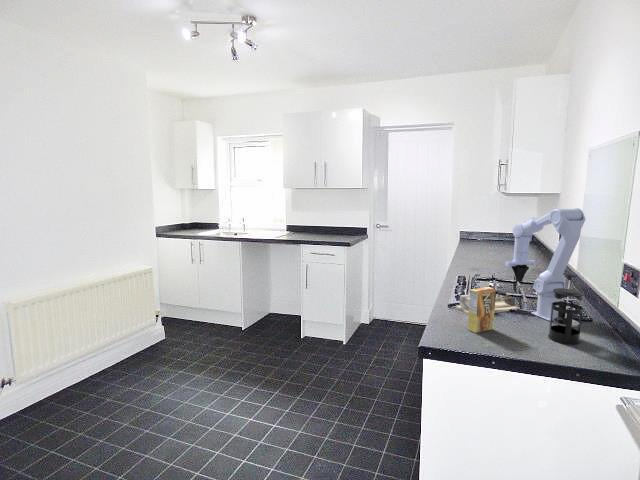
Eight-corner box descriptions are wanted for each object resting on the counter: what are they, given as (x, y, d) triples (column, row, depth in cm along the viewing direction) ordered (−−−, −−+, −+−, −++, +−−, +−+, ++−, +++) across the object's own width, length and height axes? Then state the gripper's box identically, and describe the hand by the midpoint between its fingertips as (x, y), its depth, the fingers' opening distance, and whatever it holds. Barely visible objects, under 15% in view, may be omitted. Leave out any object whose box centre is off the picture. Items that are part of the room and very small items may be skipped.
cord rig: (519, 309, 168) (520, 296, 167) (470, 315, 161) (471, 301, 160) (502, 302, 177) (503, 289, 176) (455, 307, 171) (456, 294, 170)
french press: (584, 347, 131) (591, 279, 127) (551, 343, 134) (557, 276, 131) (574, 334, 142) (580, 271, 138) (544, 330, 145) (550, 269, 141)
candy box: (484, 325, 150) (487, 286, 148) (493, 329, 146) (496, 289, 144) (467, 329, 146) (469, 289, 144) (476, 333, 143) (478, 292, 140)
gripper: (527, 249, 180) (525, 278, 183) (500, 250, 176) (498, 280, 179) (540, 251, 174) (537, 282, 176) (512, 253, 170) (510, 284, 172)
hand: (518, 281), depth 177 cm, fingers closed
